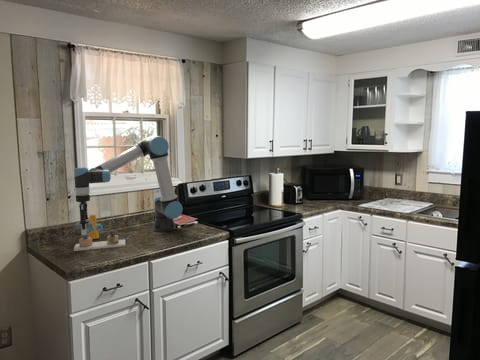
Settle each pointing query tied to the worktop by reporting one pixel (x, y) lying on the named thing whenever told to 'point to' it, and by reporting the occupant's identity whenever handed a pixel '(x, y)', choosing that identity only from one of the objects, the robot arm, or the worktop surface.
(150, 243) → the worktop surface
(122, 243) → the board
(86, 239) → the peg
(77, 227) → the square frame with hole
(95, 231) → the tube with blue rings
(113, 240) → the stand
